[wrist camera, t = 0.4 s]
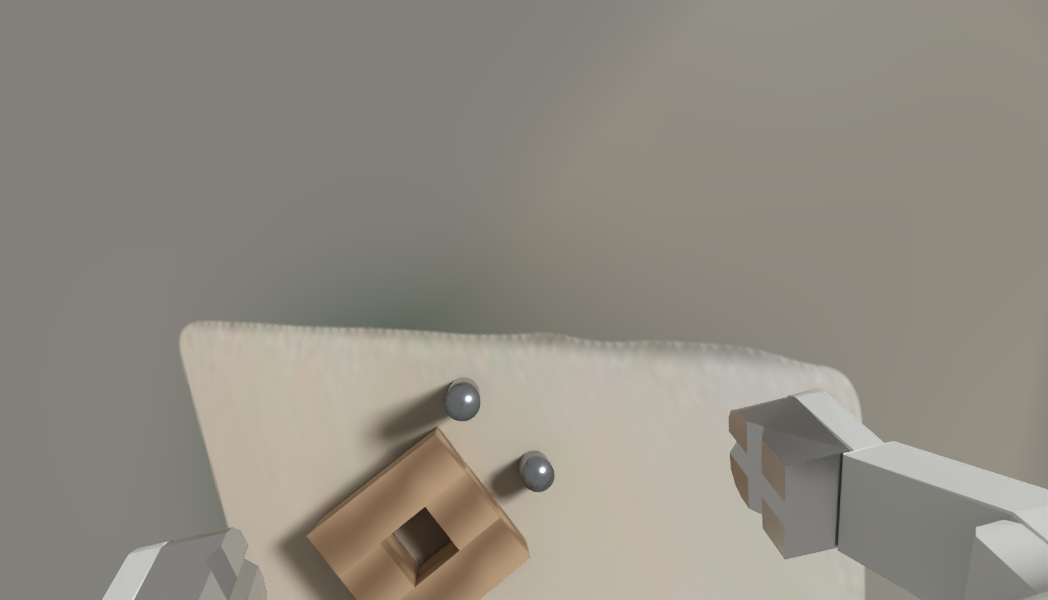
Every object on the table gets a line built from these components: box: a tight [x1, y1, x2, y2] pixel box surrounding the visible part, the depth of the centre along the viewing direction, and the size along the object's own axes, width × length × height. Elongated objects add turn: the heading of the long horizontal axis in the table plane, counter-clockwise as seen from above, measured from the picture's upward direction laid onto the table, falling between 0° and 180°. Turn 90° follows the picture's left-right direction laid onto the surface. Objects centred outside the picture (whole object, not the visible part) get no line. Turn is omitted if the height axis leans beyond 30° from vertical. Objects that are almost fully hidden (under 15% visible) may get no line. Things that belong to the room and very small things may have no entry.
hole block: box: [307, 427, 530, 600], centre depth 57 cm, size 14×14×5 cm
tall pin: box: [444, 378, 480, 421], centre depth 56 cm, size 3×3×9 cm
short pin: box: [519, 451, 554, 492], centre depth 59 cm, size 3×3×4 cm
